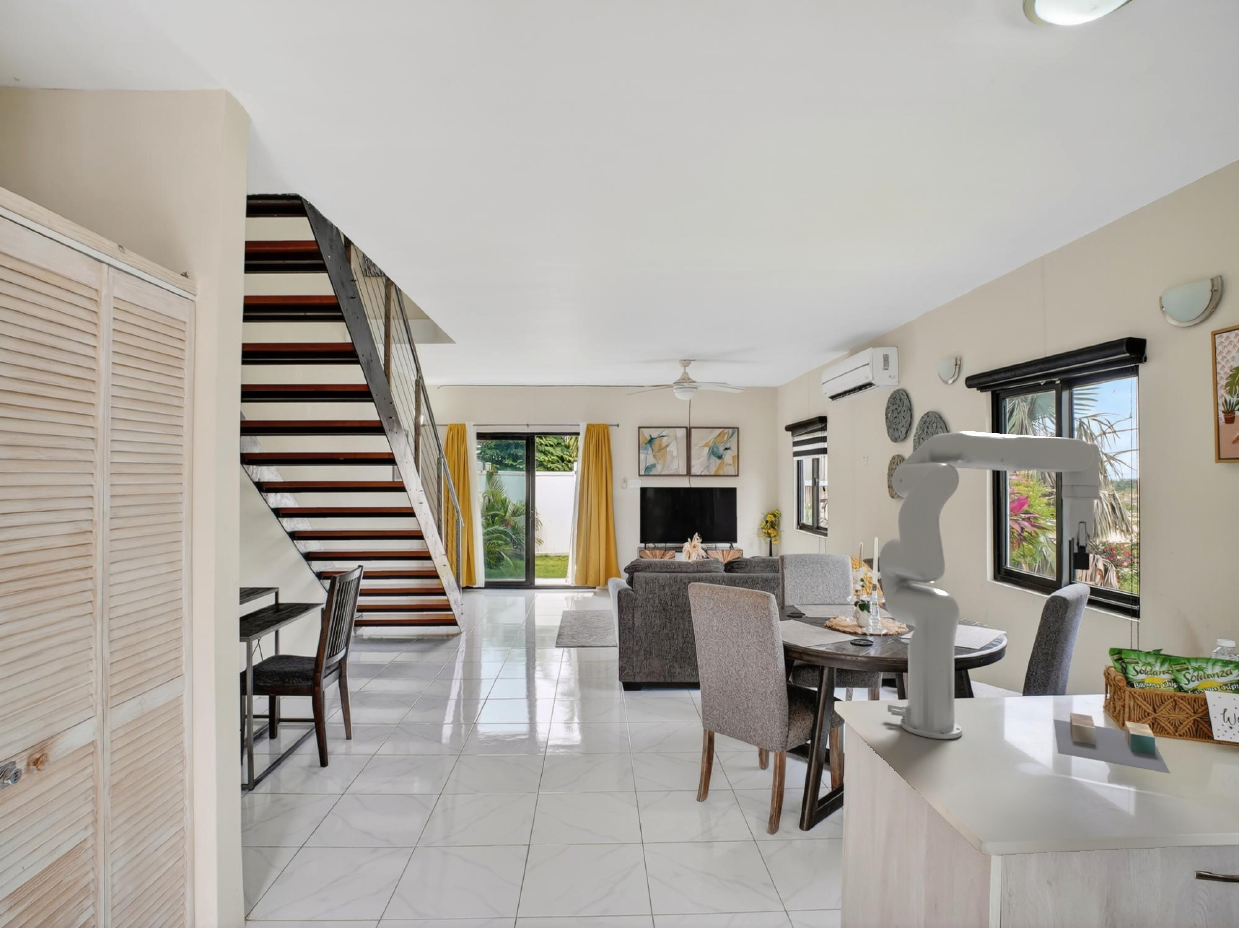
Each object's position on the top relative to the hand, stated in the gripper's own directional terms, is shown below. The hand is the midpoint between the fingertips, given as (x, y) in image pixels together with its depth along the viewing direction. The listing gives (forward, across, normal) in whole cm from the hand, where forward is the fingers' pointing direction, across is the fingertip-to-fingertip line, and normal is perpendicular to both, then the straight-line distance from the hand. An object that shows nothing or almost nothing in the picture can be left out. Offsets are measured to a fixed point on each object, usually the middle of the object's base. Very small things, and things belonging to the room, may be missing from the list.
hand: (1081, 569), depth 164 cm
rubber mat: (+35, +20, +3) cm, 41 cm away
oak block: (+33, +22, +9) cm, 41 cm away
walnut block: (+33, +22, -1) cm, 40 cm away
